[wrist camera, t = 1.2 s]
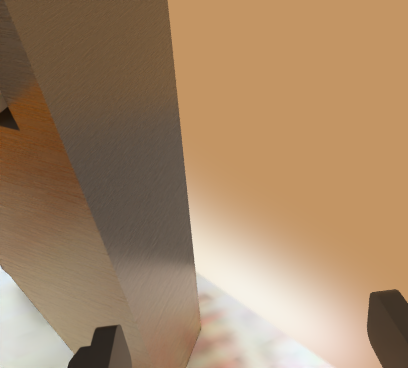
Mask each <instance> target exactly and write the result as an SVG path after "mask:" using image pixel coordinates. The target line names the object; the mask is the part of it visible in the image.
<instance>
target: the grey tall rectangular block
mask: <svg viewBox="0 0 408 368" xmlns="http://www.w3.org/2000/svg"><path fill="white" fill-rule="evenodd" d="M170 31H171V30H170V21H169V11H168V2H167V0H0V92H1V94H2V96H3V98H4V100H5V102H6V104H7V106H8V107H7V108H5V109H4V110H3V111H2V112H1V113H0V264H1V265H2V266H3V268H4V269H5V270H6V271H7V273H8V274H9V275H10V276H11V277H12V279H13V280H14V281H15V282H16V284H17V285H18V286H19V287H20V288H21V290H22V291H23V292H24V293H25V295H26V296H27V297H28V298H29V299H30V301H31V302H32V303H33V304H34V306H35V307H36V308H37V309H38V310H39V312H40V313H41V314H42V315H43V317H44V318H45V319H46V320H47V321H48V323H49V324H50V325H51V326H52V327H53V329H54V330H55V331H56V332H57V334H58V335H59V336H60V337H61V338H62V340H63V341H64V342H65V343H66V345H67V346H68V347H69V348H70V349H71V351H72V352H73V353H74V354H75V353H76V352H77V351H78V349H79V348H80V347H84V346H90V345H91V341H92V338H93V334H94V331H95V329H96V328H97V327H103V326H111V325H118V324H120V325H121V327H122V330H123V333H124V336H125V339H126V342H127V346H128V349H129V352H130V355H131V360H132V368H186V365H187V363H188V360H189V358H190V355H191V353H192V350H193V348H194V345H195V343H196V340H197V337H198V335H199V332H200V330H201V322H200V312H199V302H198V293H197V283H196V273H195V264H194V254H193V244H192V235H191V225H190V215H189V205H188V196H187V186H186V176H185V166H184V157H183V147H182V137H181V128H180V118H179V108H178V99H177V89H176V80H175V70H174V60H173V51H172V40H171V32H170Z"/></svg>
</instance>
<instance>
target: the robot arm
mask: <svg viewBox="0 0 408 368" xmlns="http://www.w3.org/2000/svg"><path fill="white" fill-rule="evenodd" d="M367 332H368V337H369V340H370V343H371V346H372V348H373V349H374V351H375V353H376V355H377V357H378V359H379V361H380V363H381V365H382V367H383V368H408V303H407V302H406V300H405V299H404V297H403V296H402V295H401V293H400V292H399V291H398V290H396V289H394V290H386V291H378V292H372V293H371V294H370V298H369V310H368V322H367ZM68 368H132V360H131V355H130V352H129V349H128V346H127V342H126V339H125V336H124V333H123V330H122V327H121V325H120V324H118V325H111V326H103V327H97V328H96V329H95V331H94V334H93V338H92V341H91V345H90V346H84V347H80V348H79V349H78V351H77V352H76V353H75V355H74V356H73V358H72V359H71V360H70V362H69V364H68Z"/></svg>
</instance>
